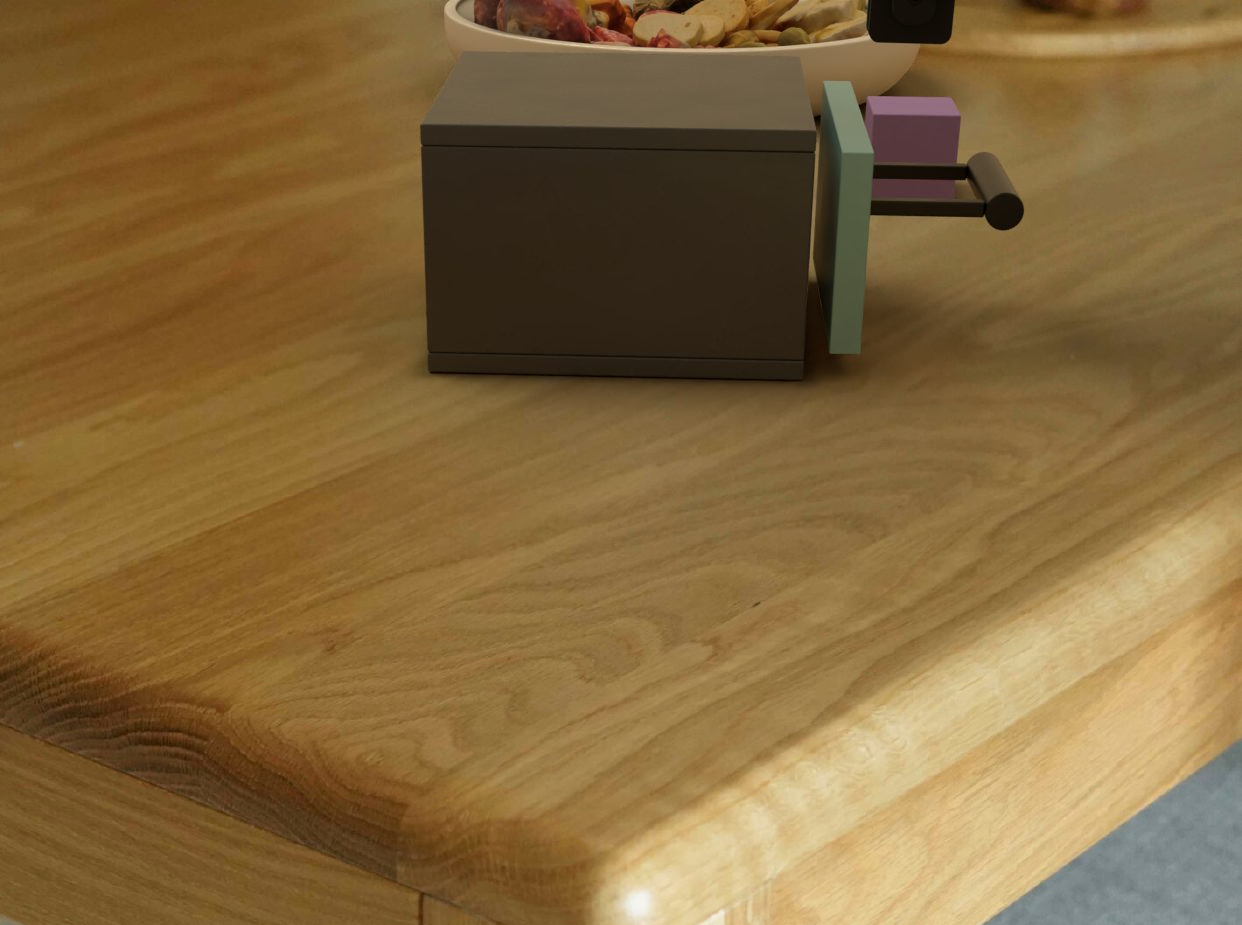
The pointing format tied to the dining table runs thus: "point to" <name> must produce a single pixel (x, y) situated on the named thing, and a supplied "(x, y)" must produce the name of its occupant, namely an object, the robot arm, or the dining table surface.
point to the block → (913, 141)
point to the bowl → (692, 34)
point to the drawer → (880, 208)
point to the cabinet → (618, 215)
